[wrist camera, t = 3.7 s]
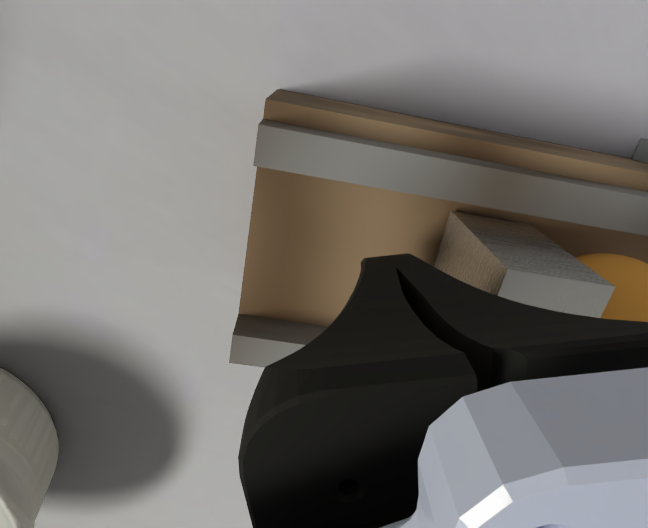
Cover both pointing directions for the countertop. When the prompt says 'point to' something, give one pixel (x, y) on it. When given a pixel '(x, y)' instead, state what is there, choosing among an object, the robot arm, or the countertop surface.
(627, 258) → the ball
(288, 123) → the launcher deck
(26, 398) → the ramekin
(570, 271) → the plunger
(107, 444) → the countertop surface
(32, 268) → the countertop surface
